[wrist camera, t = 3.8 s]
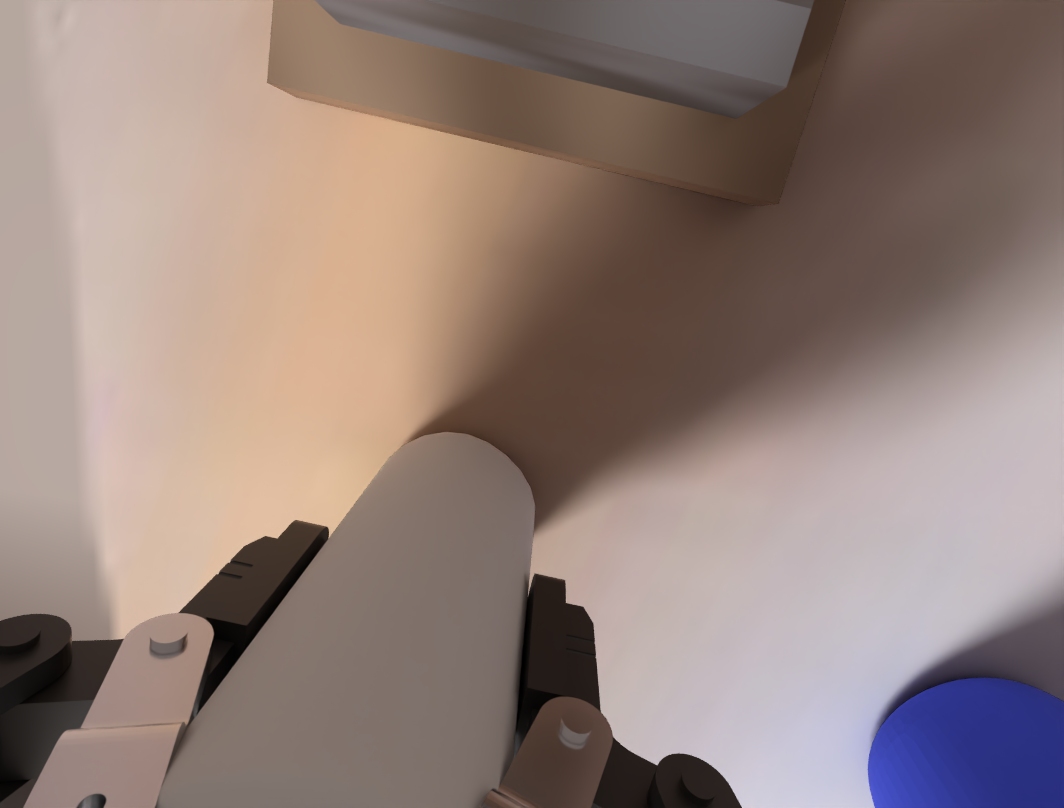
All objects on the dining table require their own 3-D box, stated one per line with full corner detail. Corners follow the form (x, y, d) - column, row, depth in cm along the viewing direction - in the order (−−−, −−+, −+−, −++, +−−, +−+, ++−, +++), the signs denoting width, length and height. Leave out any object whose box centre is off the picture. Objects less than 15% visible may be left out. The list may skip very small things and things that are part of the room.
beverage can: (389, 410, 17) (26, 795, 5) (551, 442, 17) (532, 891, 5) (371, 552, 18) (52, 1096, 7) (520, 582, 18) (453, 1169, 7)
